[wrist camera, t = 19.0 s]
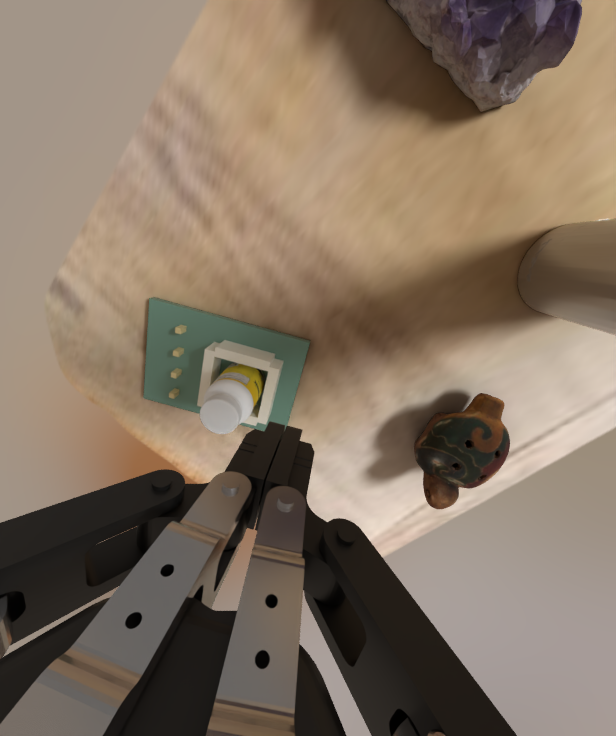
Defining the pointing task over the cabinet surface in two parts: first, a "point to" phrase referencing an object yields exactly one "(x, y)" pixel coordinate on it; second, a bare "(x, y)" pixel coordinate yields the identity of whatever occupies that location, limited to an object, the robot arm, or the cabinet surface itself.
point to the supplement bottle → (231, 398)
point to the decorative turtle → (462, 449)
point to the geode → (493, 41)
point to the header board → (218, 360)
